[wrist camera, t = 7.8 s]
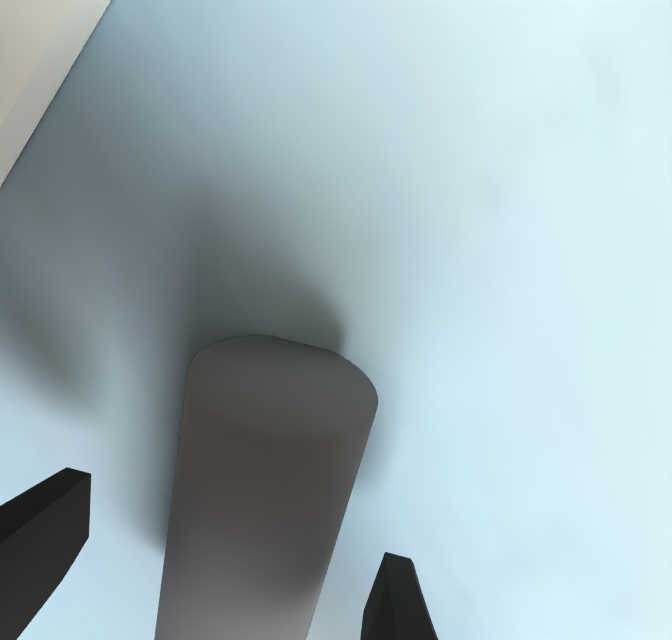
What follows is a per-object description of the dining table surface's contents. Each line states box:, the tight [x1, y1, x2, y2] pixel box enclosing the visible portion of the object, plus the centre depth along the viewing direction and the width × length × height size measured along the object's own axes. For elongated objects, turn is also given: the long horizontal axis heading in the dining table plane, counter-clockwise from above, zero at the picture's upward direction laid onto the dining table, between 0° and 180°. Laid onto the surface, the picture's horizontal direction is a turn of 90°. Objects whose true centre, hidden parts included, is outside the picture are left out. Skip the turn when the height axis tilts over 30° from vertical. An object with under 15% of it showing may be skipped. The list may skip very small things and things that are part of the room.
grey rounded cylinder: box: [154, 336, 378, 640], centre depth 12 cm, size 9×4×4 cm, turn 167°
